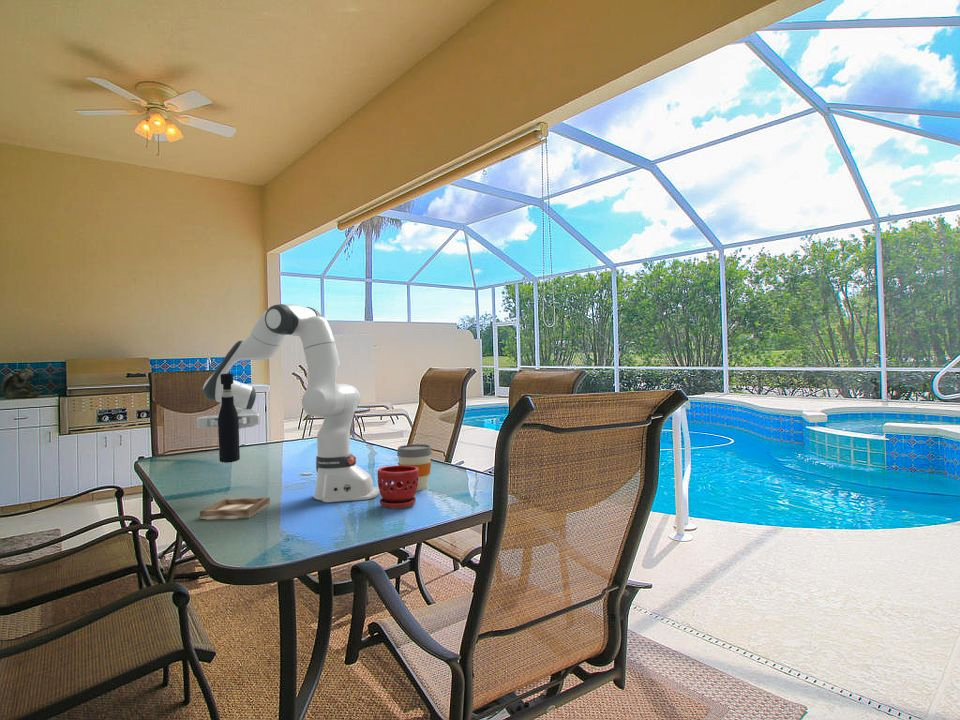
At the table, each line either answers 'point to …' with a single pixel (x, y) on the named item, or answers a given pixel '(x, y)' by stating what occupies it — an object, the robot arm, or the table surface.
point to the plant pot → (398, 486)
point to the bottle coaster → (235, 508)
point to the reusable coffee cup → (417, 461)
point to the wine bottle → (228, 424)
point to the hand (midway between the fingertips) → (228, 422)
